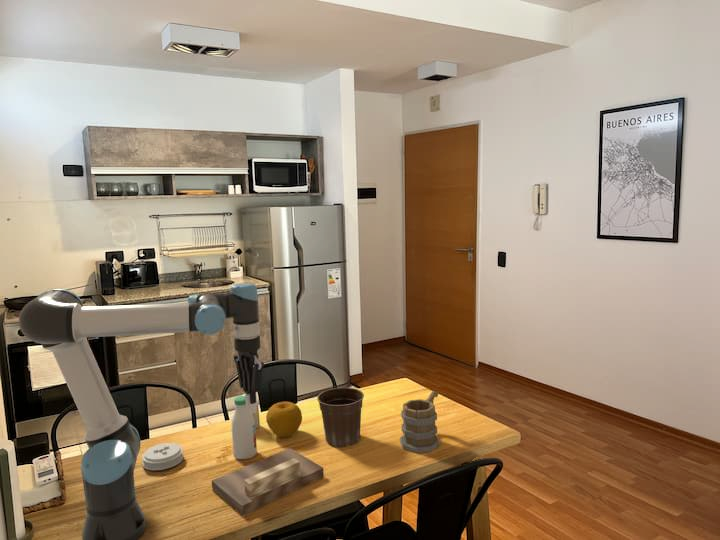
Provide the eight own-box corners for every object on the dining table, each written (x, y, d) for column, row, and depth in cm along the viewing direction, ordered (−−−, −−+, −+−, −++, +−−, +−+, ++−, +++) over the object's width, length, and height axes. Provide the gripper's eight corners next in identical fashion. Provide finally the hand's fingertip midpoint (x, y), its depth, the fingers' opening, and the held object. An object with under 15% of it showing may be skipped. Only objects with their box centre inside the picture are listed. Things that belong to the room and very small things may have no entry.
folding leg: (250, 497, 148) (249, 484, 147) (244, 493, 150) (244, 479, 150) (300, 474, 159) (299, 461, 159) (294, 470, 161) (293, 458, 161)
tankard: (426, 456, 174) (425, 413, 171) (394, 446, 181) (392, 404, 179) (454, 433, 189) (454, 393, 187) (423, 424, 197) (423, 386, 195)
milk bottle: (251, 461, 175) (247, 403, 172) (229, 459, 176) (225, 402, 173) (260, 449, 182) (256, 394, 179) (239, 448, 184) (235, 393, 181)
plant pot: (313, 448, 182) (310, 403, 179) (327, 427, 197) (325, 386, 195) (359, 452, 178) (357, 406, 176) (369, 430, 193) (368, 388, 191)
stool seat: (242, 515, 145) (242, 505, 145) (212, 489, 158) (211, 480, 158) (323, 476, 163) (323, 467, 163) (290, 456, 177) (289, 447, 176)
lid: (186, 451, 183) (185, 438, 182) (180, 470, 171) (178, 456, 170) (147, 455, 181) (146, 442, 180) (138, 475, 169) (137, 460, 168)
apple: (269, 445, 185) (267, 414, 183) (265, 429, 198) (263, 400, 196) (305, 439, 189) (304, 408, 187) (299, 424, 201) (298, 395, 199)
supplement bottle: (252, 422, 204) (249, 390, 202) (263, 426, 200) (261, 394, 198) (238, 428, 199) (235, 395, 197) (249, 433, 195) (247, 399, 193)
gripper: (224, 334, 158) (229, 410, 161) (247, 343, 148) (252, 423, 152) (246, 329, 163) (250, 403, 166) (270, 337, 154) (274, 414, 157)
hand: (251, 412), depth 159 cm, fingers closed
